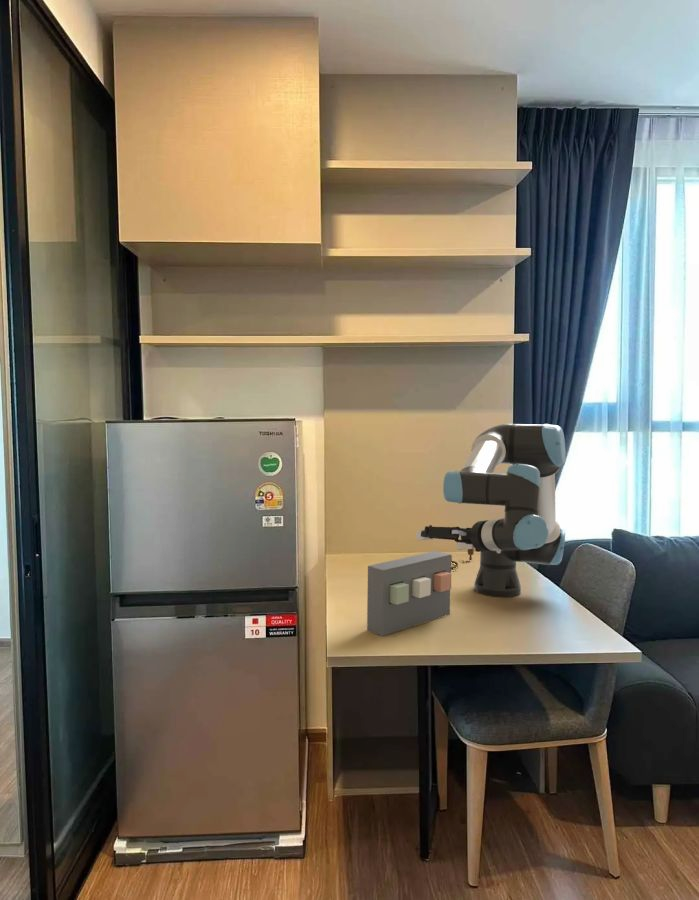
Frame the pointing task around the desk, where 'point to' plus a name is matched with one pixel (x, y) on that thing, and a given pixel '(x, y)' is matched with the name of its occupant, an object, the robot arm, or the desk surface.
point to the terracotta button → (441, 581)
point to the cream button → (421, 587)
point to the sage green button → (398, 593)
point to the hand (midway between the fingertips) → (438, 540)
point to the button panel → (416, 610)
